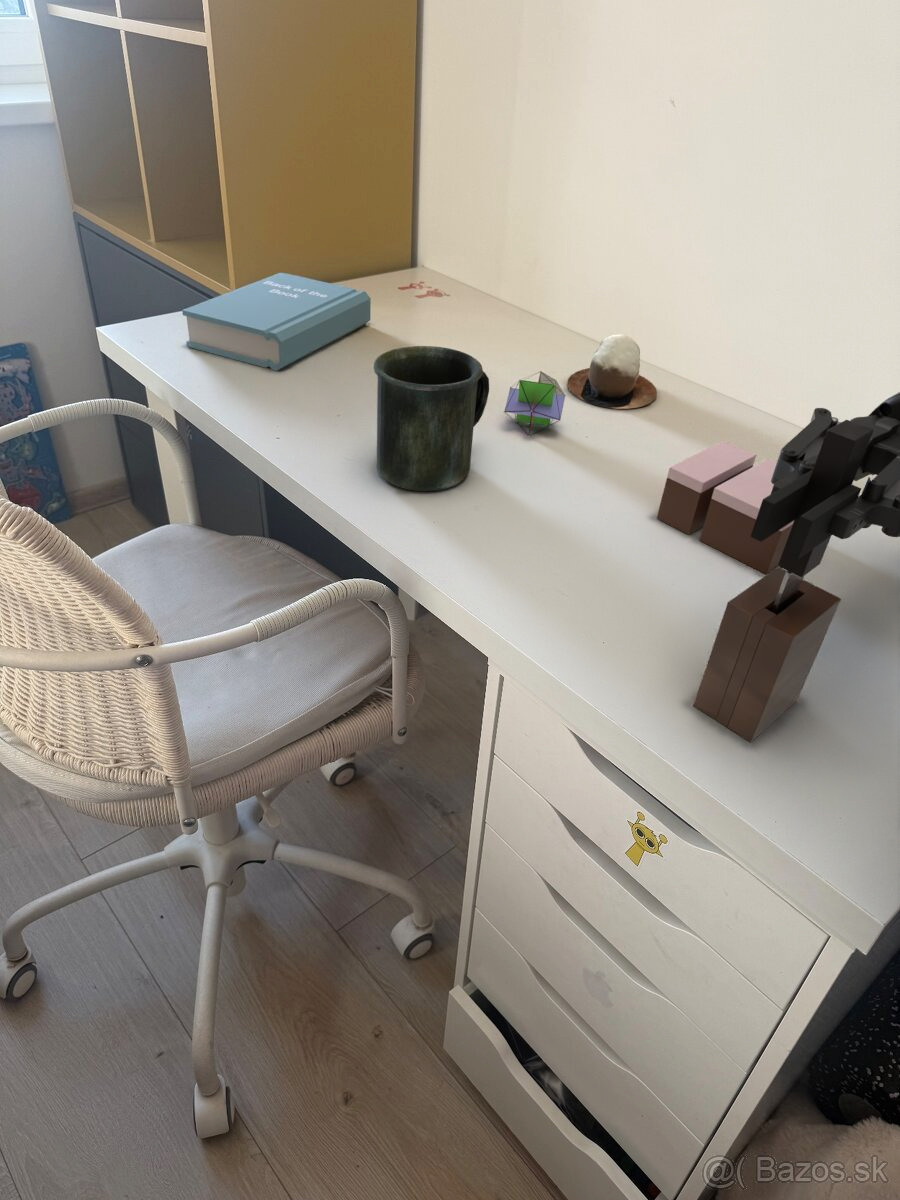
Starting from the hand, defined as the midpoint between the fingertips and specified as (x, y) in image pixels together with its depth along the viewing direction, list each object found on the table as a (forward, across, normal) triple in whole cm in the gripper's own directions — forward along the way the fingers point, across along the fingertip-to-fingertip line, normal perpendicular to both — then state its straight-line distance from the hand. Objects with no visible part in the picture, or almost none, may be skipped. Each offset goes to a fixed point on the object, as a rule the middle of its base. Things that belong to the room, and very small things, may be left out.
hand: (780, 529), depth 50 cm
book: (-21, +86, -18) cm, 90 cm away
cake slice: (-28, +19, -18) cm, 38 cm away
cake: (-28, +12, -18) cm, 35 cm away
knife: (-6, 0, -18) cm, 19 cm away
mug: (-12, +43, -18) cm, 48 cm away
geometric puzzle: (-28, +43, -18) cm, 55 cm away
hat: (-46, +45, -18) cm, 67 cm away
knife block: (-6, 0, -18) cm, 19 cm away
